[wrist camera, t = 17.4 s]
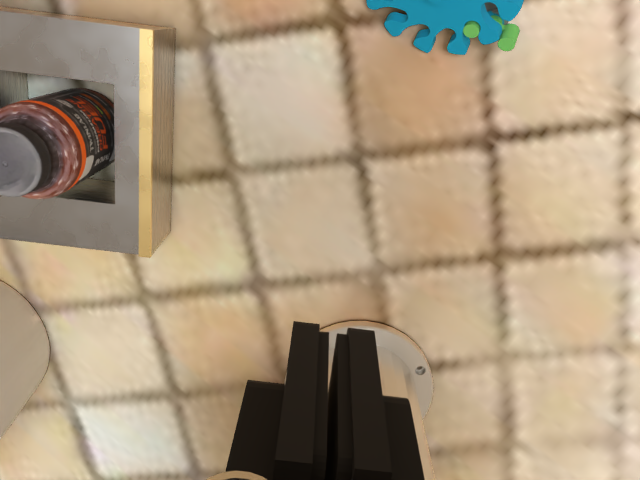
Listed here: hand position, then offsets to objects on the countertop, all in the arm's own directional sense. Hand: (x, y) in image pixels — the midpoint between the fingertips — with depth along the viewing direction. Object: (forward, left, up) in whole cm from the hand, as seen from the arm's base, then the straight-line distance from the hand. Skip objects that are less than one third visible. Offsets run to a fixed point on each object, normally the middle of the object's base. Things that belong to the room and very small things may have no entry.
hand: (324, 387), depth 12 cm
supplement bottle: (-3, +18, -32) cm, 37 cm away
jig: (-2, +18, -32) cm, 37 cm away
